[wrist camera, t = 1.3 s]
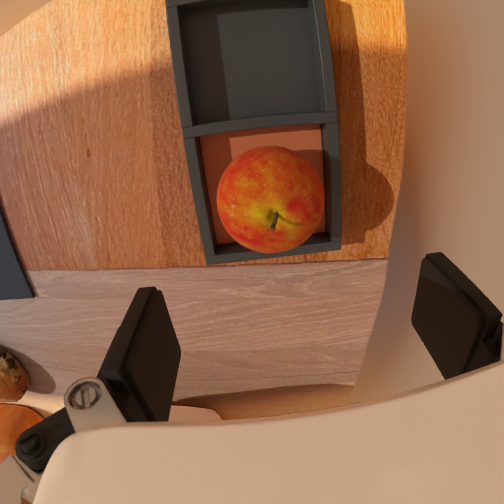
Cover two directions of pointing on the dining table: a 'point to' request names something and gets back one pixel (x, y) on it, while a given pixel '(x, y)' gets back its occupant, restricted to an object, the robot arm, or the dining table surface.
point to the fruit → (270, 199)
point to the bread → (14, 426)
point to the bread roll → (11, 378)
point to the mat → (11, 268)
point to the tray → (255, 103)
